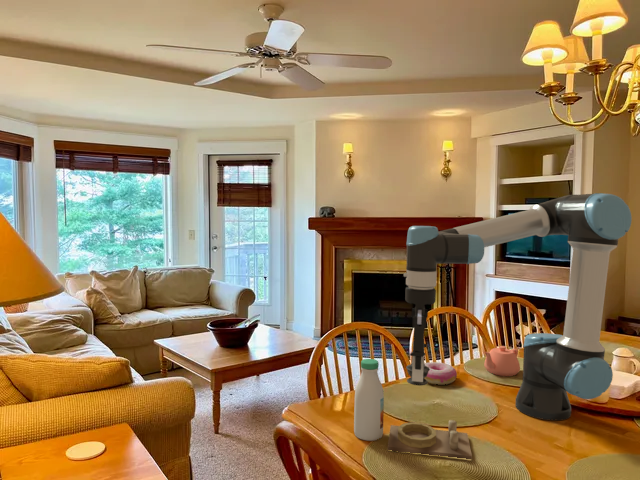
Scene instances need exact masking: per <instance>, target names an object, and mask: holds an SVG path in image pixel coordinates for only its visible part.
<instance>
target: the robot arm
mask: <svg viewBox="0 0 640 480" xmlns="http://www.w3.org/2000/svg"><path fill="white" fill-rule="evenodd" d="M632 217H633V216H632V211H631V209H630V207H629V205H628V204H627V203H626V202H625V200H624V199H623V198H621V196H618V195H615V194H612V193H601V192H600V193H599V192H598V193H586V194H585V193H583V194H568V195H564V196H561V197H557V198H554V199H550V200H547V201H545V202H540V203H538V204H537V203H536V204H534V205H533V204H532V205H531V206H530V208H529V209H526V210H523V211H518V212H515V213H510V214H506V215H502V216H498V217H494V218H489V219H486V220H485V219H484V220H481V221H477V222H473V223H469V224H464V225H461V226H460V225H459V226H456V227H453V228H448V229H444V230H440V231H439V229H438V227H436V226H431V225H412V226H410V227H409V228H408V230H407V236H406V243H405V244H406V267H405V268H406V272H404V273H403V277H404V278H405V285H406V287H405V290H404V291H405V295H404V296H405V297H404V299H405V300H404V301H405V302H407V303H408V304H414V305H415V307H414V308H413V307H412V309H411V317H412V324H411V325H412V328H413V341H414V345H413V344H412V352H413V353H411V352H410V353H409V356H411V357H412V356H413V362H412V361H411V363H412V381H416V382H423V367H424V364H425V355H424V353H425V348H427V343H425V329H426V328H427V321H428V320H427V319H428V316H429V310H428V309H429V308H426V305H433V304H435V303H436V297H437V294H436V293H437V292H436V291H437V289H436V286H437V274H438V269H437V268H438V267H437V266H438V264H440V265H441V264H443V265H444V264H450V265H451V264H456V265H458V264H459V265H460V264H464V265H465V264H466V265H471V264H478V263H481V262H482V260H483V259H484V256H485V248H487V247H492V246H495V245H496V246H497V245H500V244H504V243H508V242H513V241H516V240H521V239H525V238H529V237H532V236H533V237H534V236H537V237H541V238H544V237H547V236H554V235H555V236H560V235H563V236H568V237H567V243H568V244H569V245H570V246H571V248H572V256H571V265H570V266H571V267H570V274H569V282H568V291H567V299H566V309H565V317H564V325H563V332H562V333H563V335H562V334H557V333H556V334H555V333H546V332H545V333H544V332H543V333H542V332H541V333H538V332H537V333H529V334H527V335H525V337H524V341H523V342H524V343H523V346H522V347H523V360H522V361H523V363H522V365H523V366H522V382H521V385H520V387H519V389H518V391H517V394H516V397H515V408H516V409H517V410H518V411H519V412H521V413H523V414H525V415H527V416H530V417H532V418H534V419H535V418H537V419H539V420H540V419H541V420H545V421H546V420H547V421H563V420H568V419H569V418H570V417H571V416H572V406H571V403H570V400H569V396H568V394H570V395H572V396H575V397H577V398H580V399H584V400H593V399H596V398H598V397H600V396H601V395H602V394H604V393H605V392H606V391H608V389H609V388H610V387H611V383H612V381H613V378H614V372H613V369H612V367H611V366H610V363H608V362H607V361H606V360H605V352H606V348H605V347H604V346H603V344H602V343H601V342H600V338H601V329H602V322H603V312H604V305H605V304H604V303H605V298H606V297H605V296H606V287H607V279H608V271H609V263H610V262H609V261H610V256H611V252H612V251H614V250H615V249H617V247H618V245H619V239H621V238H622V237H624V236H626V233H628V232H629V231H630V229H631V226H632V220H633V219H632ZM423 351H424V352H423Z"/></svg>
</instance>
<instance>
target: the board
mask: <svg viewBox="0 0 640 480" xmlns="http://www.w3.org/2000/svg"><path fill="white" fill-rule="evenodd" d="M457 425H458V424H457V421H456V420H454V419H449V420H448V430H441V429H440V430H439V429H435V428H434V427H432V426H431V425H429V424H425V423H422V422H413V421H411V422H405V423H402V424H401V425H395V424H394V425H393V424H391V425H390V428H389V435H388V440H387V441H388V442H387V451H388V450H392V451H398V452H410V453H421V454H429V455H438V456H439V455H440V456H448V457H457V458H466V459H472V460H473V453H472V451H471V450H472V449H471V446H470V445H471V444H470V440H469V435H468V432H459V431H458V430H457ZM398 452H397V453H398Z"/></svg>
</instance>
